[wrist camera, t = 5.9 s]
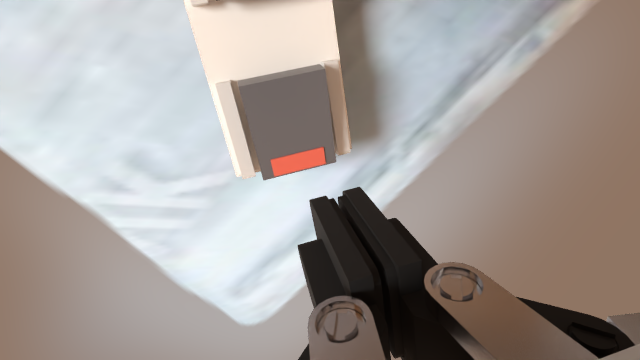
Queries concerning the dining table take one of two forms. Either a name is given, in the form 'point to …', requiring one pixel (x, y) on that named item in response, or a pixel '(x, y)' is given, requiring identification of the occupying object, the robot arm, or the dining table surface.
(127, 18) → the dining table surface
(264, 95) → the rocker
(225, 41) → the rocker switch panel
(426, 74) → the dining table surface
